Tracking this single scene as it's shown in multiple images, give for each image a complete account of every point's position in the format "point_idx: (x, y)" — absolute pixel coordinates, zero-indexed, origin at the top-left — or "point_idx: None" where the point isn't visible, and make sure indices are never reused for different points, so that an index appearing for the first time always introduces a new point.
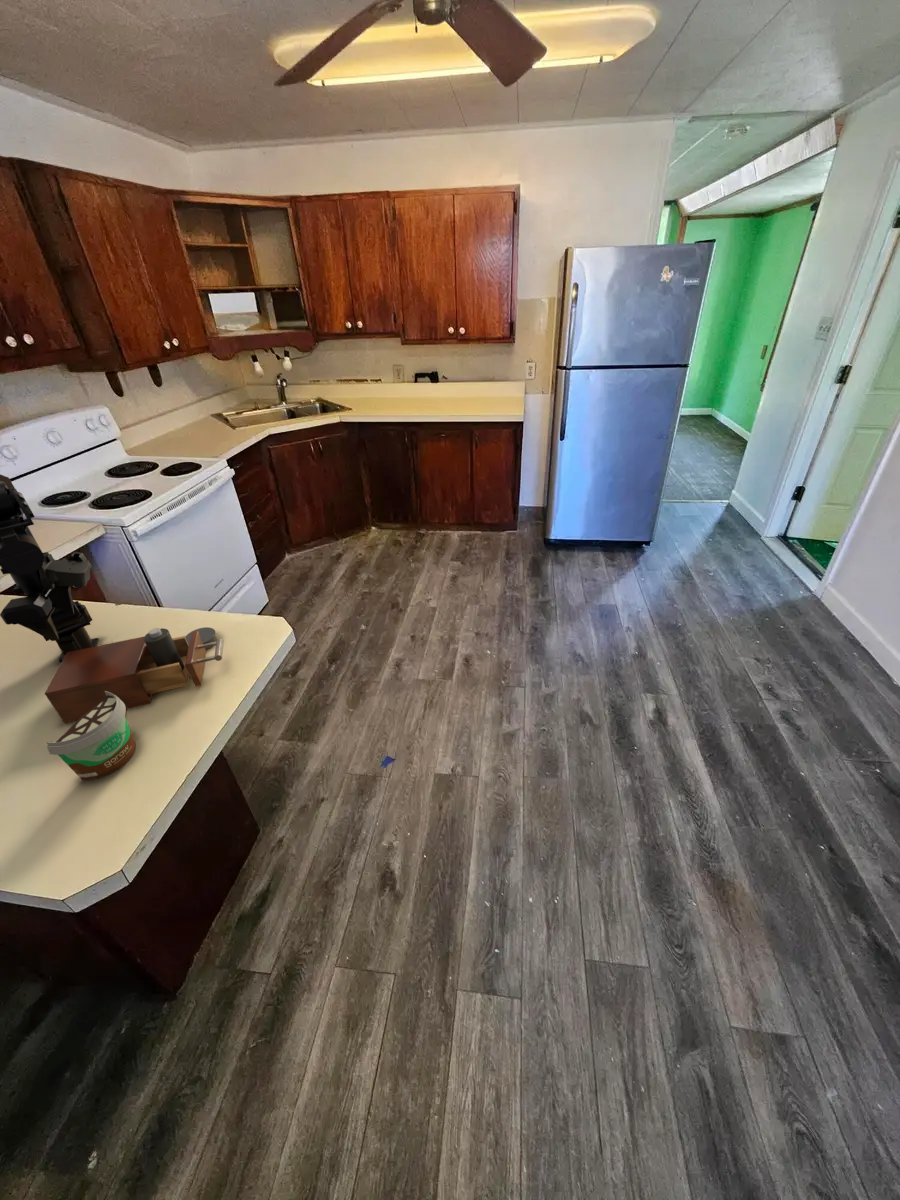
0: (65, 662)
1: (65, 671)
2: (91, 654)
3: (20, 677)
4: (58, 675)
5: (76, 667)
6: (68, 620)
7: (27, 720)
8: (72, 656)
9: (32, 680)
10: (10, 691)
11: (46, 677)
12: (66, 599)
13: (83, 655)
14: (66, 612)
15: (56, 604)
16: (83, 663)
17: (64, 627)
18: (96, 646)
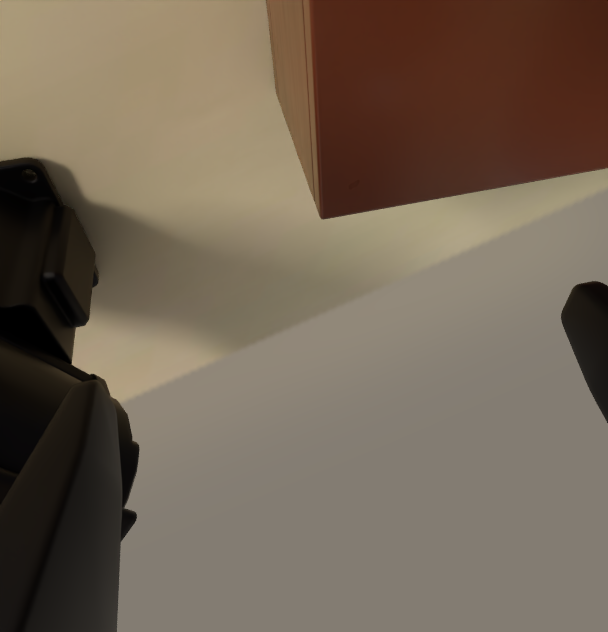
0: (453, 173)
1: (572, 124)
2: (440, 7)
3: (186, 349)
4: (590, 149)
5: (577, 61)
6: (15, 377)
7: (470, 208)
8: (397, 160)
9: (214, 308)
10: (265, 336)
11: (204, 273)
12: (57, 589)
13: (424, 78)
14: (112, 438)
15: (116, 577)
16: (550, 25)
17: (45, 362)
18: (315, 14)
